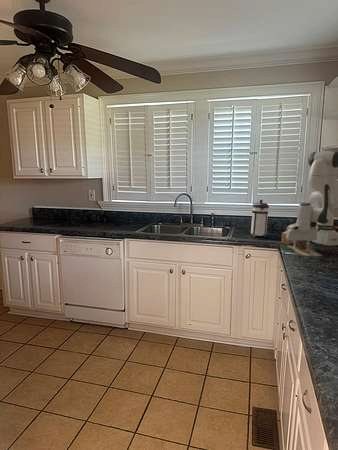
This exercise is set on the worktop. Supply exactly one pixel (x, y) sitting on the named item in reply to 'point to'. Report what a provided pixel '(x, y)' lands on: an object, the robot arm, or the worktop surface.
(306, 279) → the worktop surface
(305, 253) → the lacing board
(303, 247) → the walnut bead
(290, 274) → the worktop surface
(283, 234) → the stack of blocks
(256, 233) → the coffee press
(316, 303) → the worktop surface
